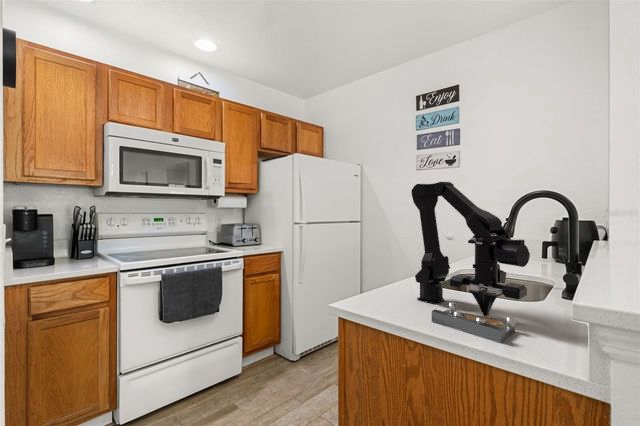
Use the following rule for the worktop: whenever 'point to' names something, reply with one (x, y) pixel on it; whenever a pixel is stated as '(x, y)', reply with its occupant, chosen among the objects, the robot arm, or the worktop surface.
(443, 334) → the worktop surface
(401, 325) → the worktop surface
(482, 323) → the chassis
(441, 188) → the robot arm
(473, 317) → the shard
